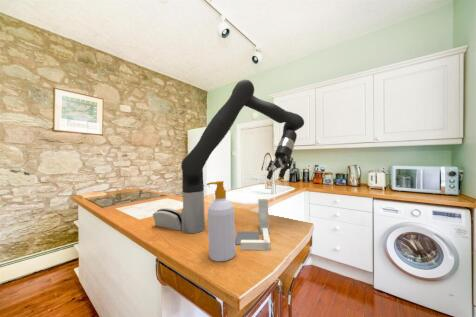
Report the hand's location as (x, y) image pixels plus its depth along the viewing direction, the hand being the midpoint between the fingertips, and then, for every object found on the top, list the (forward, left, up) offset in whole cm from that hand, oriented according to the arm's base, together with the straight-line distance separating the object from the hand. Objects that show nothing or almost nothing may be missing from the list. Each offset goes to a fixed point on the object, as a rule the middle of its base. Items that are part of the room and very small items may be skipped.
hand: (274, 178), depth 80 cm
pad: (-13, -12, -22) cm, 28 cm away
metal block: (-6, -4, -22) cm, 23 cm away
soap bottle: (-21, -25, -22) cm, 39 cm away
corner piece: (-10, -15, -22) cm, 28 cm away
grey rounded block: (-49, -1, -22) cm, 54 cm away
